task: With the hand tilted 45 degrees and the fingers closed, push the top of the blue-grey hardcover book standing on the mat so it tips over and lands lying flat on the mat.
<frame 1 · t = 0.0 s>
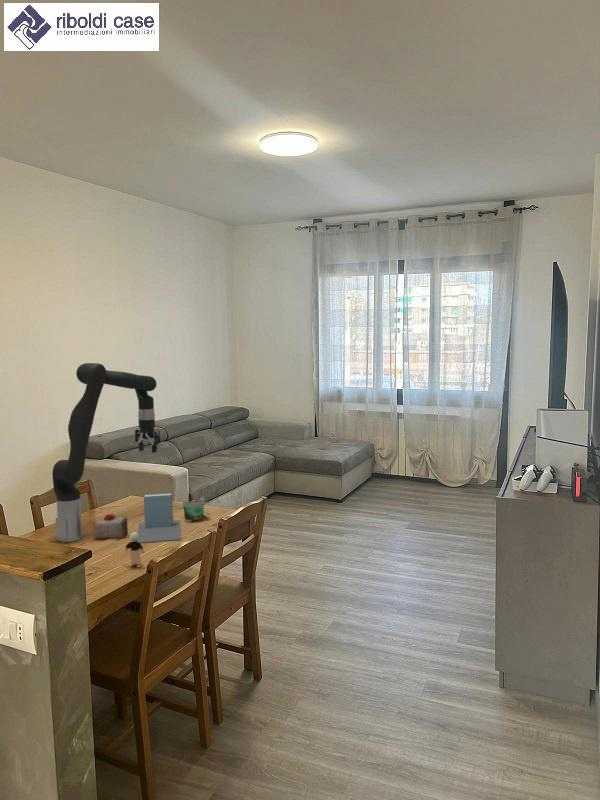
hand: (147, 451, 282), 29 cm above the table, tool pointing down, fingers open, 8 cm apart
grandmother figurine: (135, 566, 217), on the table
food container: (197, 521, 269), on the table
book: (159, 525, 261), point 1 cm above the table, touching mat
food item: (111, 537, 248), on the table
mat: (159, 532, 254), on the table
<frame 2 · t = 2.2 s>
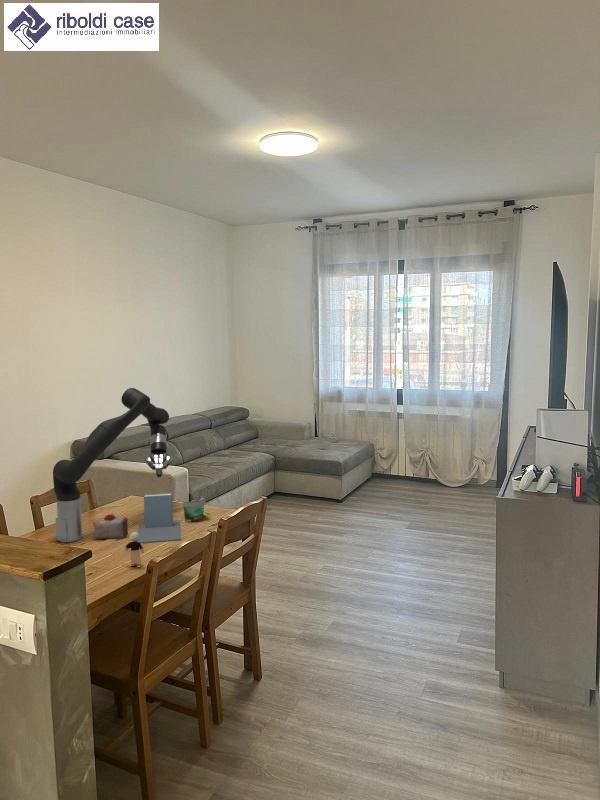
hand: (159, 476, 274), 19 cm above the table, tool tilted 45°, fingers closed
nothing on the table moved.
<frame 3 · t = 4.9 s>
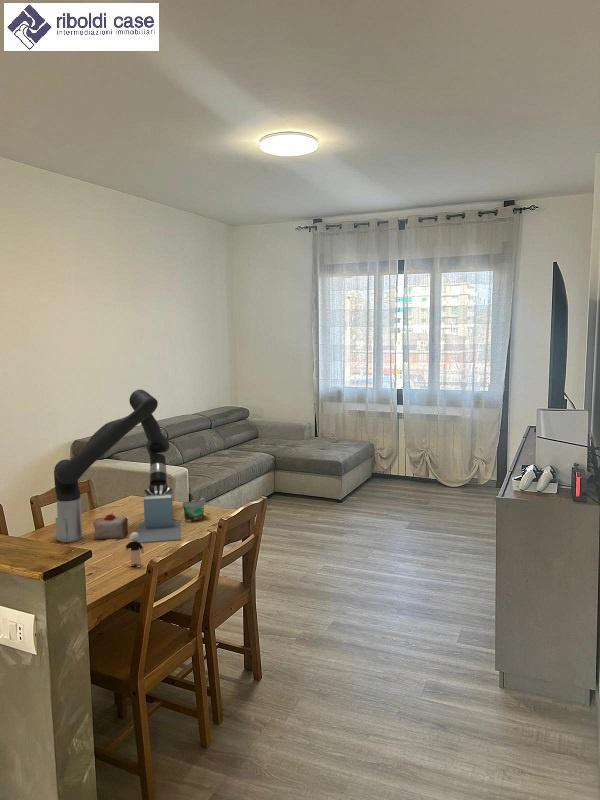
hand: (158, 508, 261), 8 cm above the table, tool tilted 45°, fingers closed
book: (159, 524, 261), point 1 cm above the table, tilted 13°, touching mat
everything else where it was.
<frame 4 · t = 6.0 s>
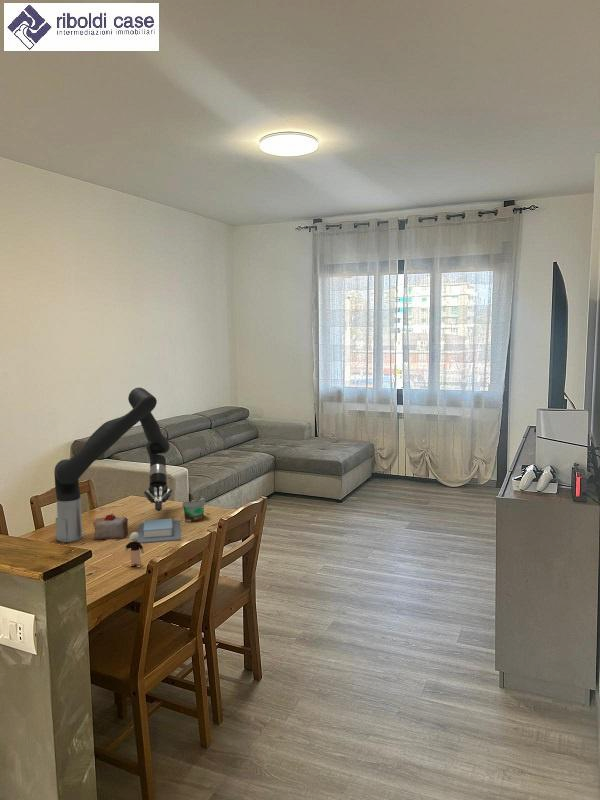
hand: (158, 510, 258), 8 cm above the table, tool tilted 45°, fingers closed
book: (159, 523, 259), point 2 cm above the table, tilted 90°, touching mat
everything else where it was.
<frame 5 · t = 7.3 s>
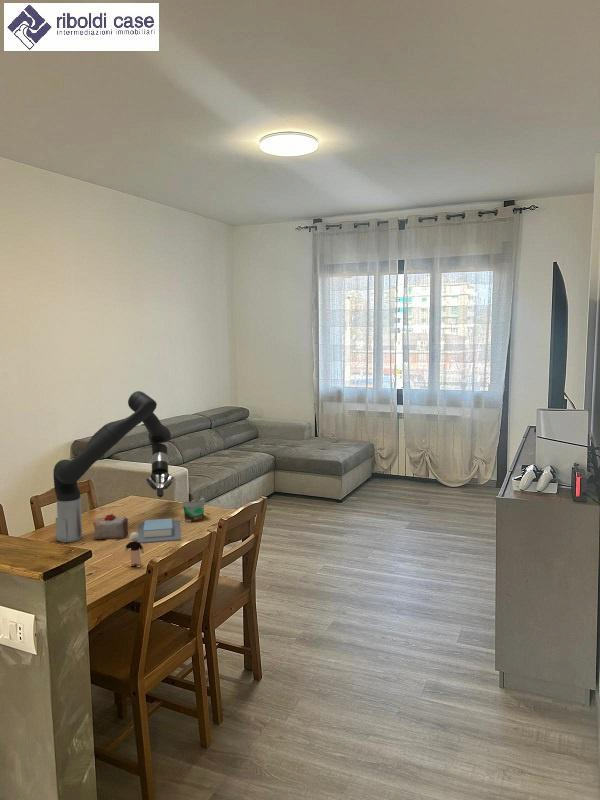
hand: (160, 496, 268), 12 cm above the table, tool tilted 45°, fingers closed
nothing on the table moved.
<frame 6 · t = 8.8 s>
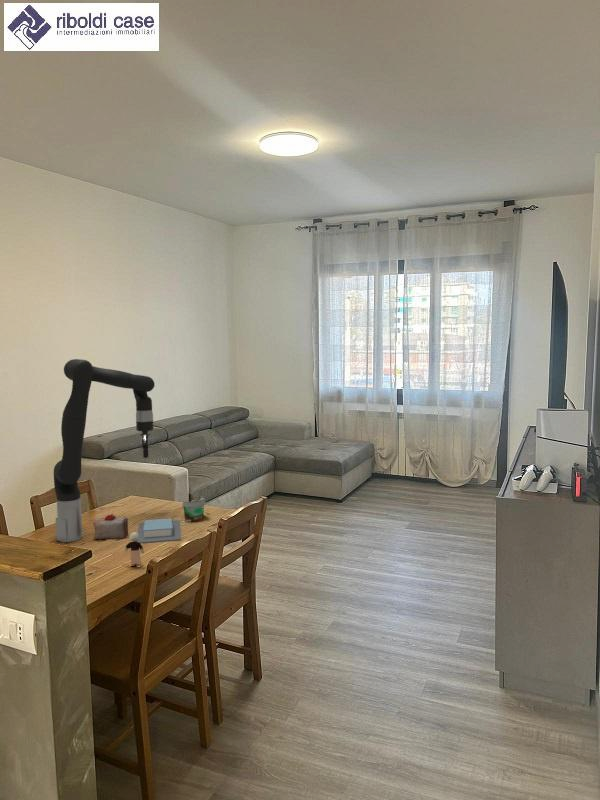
hand: (146, 457, 270), 29 cm above the table, tool pointing down, fingers closed
nothing on the table moved.
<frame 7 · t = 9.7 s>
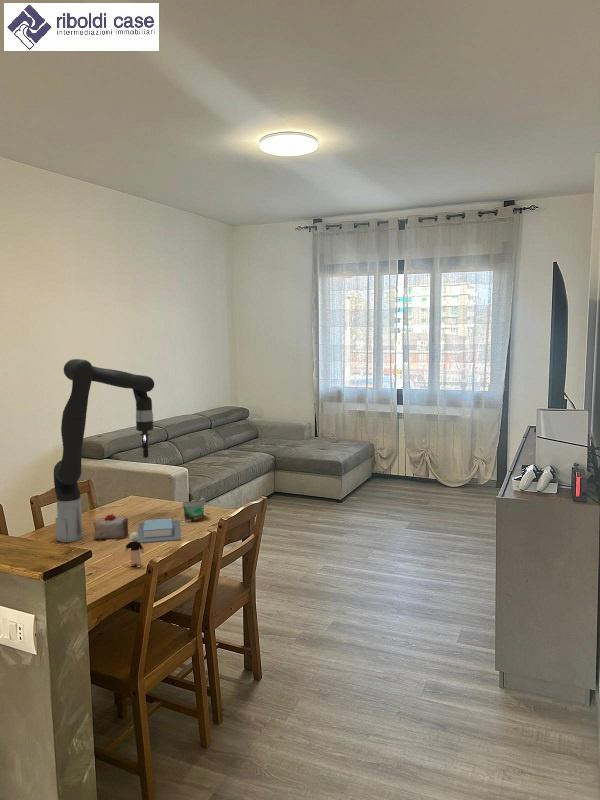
hand: (146, 457, 270), 29 cm above the table, tool pointing down, fingers closed
nothing on the table moved.
at the end: book tilted 90°; book inside the target area on the mat (5.2 cm from its centre), point 2.3 cm above the mat's base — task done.
